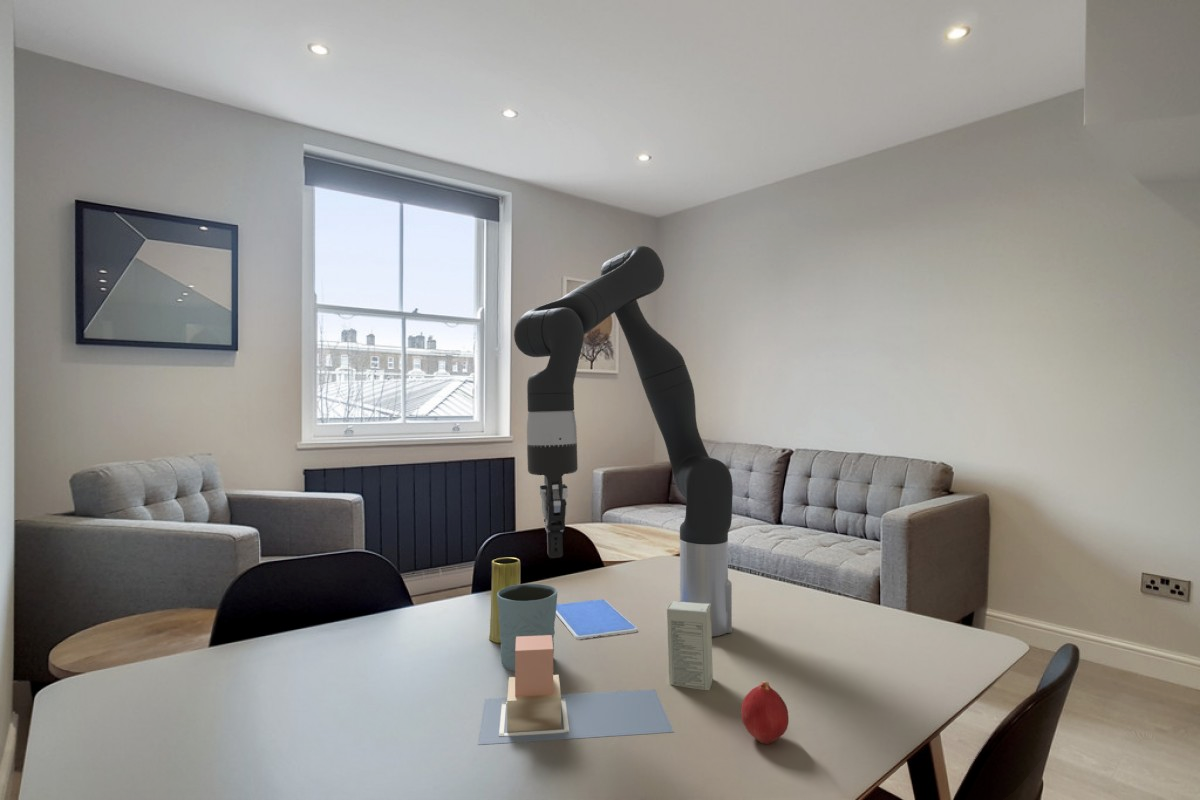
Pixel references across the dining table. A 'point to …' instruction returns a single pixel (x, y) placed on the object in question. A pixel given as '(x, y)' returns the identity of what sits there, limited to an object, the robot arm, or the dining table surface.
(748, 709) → the onion
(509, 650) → the grey-green pot
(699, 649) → the skincare box
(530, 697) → the oak base block
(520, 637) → the terracotta block
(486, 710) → the board
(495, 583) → the vase
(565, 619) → the tablet computer
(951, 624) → the dining table surface
